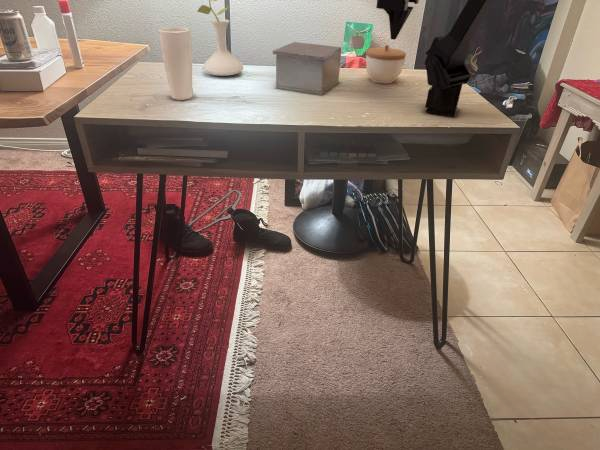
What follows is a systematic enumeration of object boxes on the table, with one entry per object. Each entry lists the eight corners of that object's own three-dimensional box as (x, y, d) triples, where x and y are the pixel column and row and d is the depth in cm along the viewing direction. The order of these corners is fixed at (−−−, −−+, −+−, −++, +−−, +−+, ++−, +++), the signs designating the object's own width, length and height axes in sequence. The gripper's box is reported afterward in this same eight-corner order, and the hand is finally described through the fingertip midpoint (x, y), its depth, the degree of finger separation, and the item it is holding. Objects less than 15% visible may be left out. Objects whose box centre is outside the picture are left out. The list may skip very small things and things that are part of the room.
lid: (272, 54, 107) (272, 50, 107) (294, 45, 118) (294, 41, 117) (323, 60, 103) (323, 56, 103) (341, 50, 114) (341, 47, 113)
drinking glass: (181, 91, 106) (174, 25, 98) (202, 96, 103) (196, 29, 95) (161, 98, 101) (151, 29, 93) (182, 103, 98) (174, 33, 90)
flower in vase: (251, 72, 124) (248, -28, 110) (228, 81, 115) (221, -26, 102) (215, 66, 129) (207, -31, 115) (190, 74, 120) (179, -29, 107)
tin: (276, 88, 111) (276, 54, 107) (296, 76, 122) (297, 45, 117) (321, 95, 108) (323, 60, 103) (338, 82, 118) (341, 50, 114)
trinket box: (402, 87, 116) (408, 50, 111) (362, 84, 117) (366, 47, 112) (400, 77, 125) (406, 42, 120) (363, 74, 126) (367, 40, 121)
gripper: (380, -40, 105) (371, 29, 113) (358, -38, 90) (350, 41, 99) (426, -37, 101) (413, 34, 110) (411, -34, 87) (397, 47, 95)
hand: (393, 39), depth 104 cm, fingers closed
